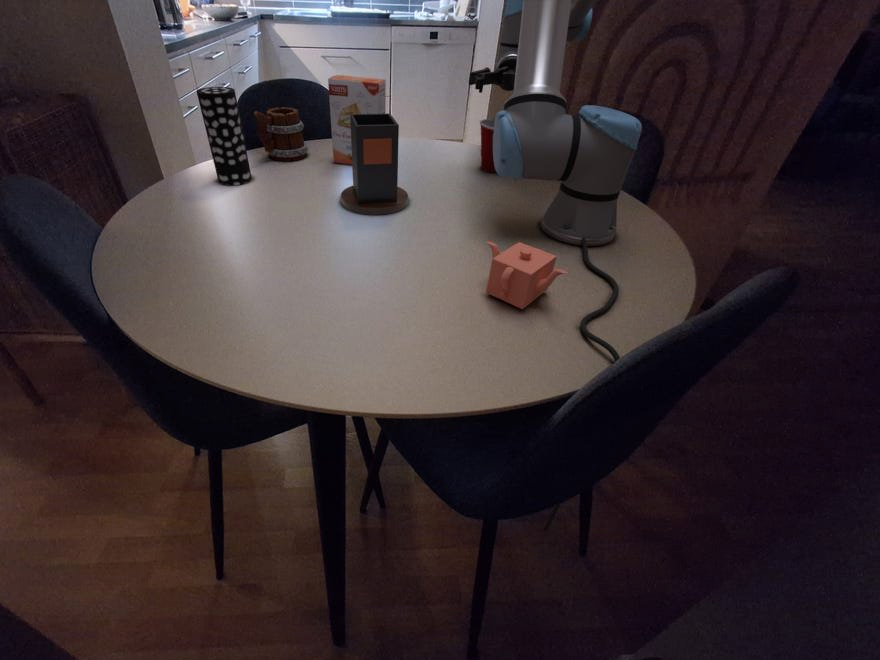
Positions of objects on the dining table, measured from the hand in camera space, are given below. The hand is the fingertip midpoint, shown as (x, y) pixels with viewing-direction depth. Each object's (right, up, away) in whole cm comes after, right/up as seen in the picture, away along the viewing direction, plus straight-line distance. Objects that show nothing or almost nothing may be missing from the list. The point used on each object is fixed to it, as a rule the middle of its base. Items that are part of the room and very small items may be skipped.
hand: (511, 88), depth 100 cm
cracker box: (-37, -6, +26) cm, 46 cm away
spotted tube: (-68, -16, +13) cm, 71 cm away
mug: (-59, -3, +28) cm, 66 cm away
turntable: (-32, -24, +5) cm, 40 cm away
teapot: (-5, -51, -24) cm, 57 cm away
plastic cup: (+1, -8, +25) cm, 26 cm away
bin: (-32, -23, +4) cm, 39 cm away
